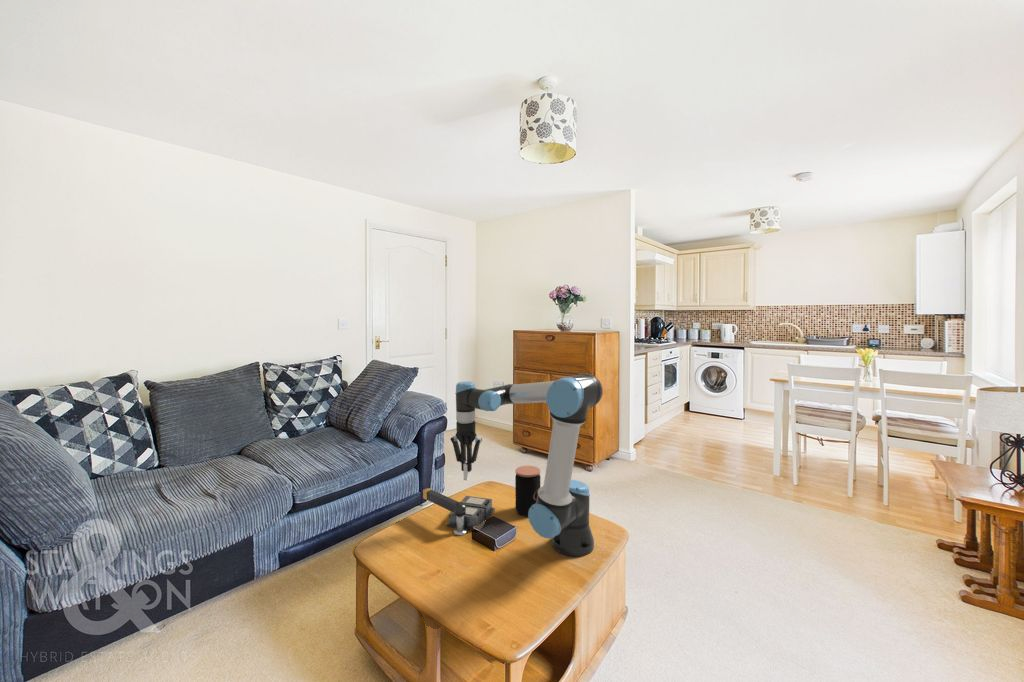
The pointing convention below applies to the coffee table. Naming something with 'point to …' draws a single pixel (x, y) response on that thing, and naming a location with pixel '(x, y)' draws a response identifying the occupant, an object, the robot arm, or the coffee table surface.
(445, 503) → the swing arm
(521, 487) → the coffee jar
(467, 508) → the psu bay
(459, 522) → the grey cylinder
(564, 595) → the coffee table surface
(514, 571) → the coffee table surface
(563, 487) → the robot arm
